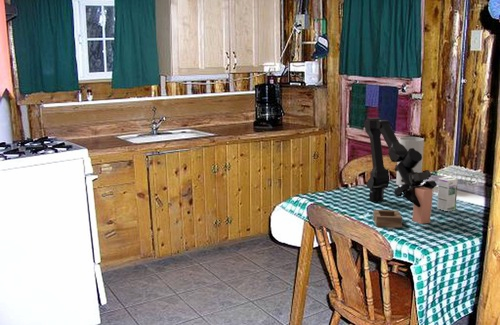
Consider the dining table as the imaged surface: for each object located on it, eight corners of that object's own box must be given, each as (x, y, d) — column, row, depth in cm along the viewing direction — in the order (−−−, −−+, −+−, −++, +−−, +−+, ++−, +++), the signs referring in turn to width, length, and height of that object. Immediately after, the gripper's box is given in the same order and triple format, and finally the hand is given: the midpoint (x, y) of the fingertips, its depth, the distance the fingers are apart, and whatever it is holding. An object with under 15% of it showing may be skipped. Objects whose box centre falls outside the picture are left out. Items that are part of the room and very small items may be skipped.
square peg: (412, 220, 217) (415, 188, 214) (421, 218, 219) (424, 186, 216) (420, 223, 212) (423, 191, 209) (430, 222, 214) (433, 189, 211)
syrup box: (446, 212, 228) (449, 180, 225) (436, 208, 233) (438, 177, 230) (455, 210, 231) (458, 178, 228) (445, 206, 236) (447, 175, 233)
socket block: (373, 218, 219) (373, 209, 218) (397, 219, 218) (397, 210, 217) (376, 226, 210) (376, 217, 209) (401, 227, 209) (402, 217, 208)
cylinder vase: (424, 184, 274) (427, 138, 269) (415, 189, 265) (418, 141, 259) (401, 181, 282) (404, 136, 277) (392, 186, 272) (394, 139, 267)
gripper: (400, 165, 210) (418, 198, 203) (435, 161, 218) (453, 193, 211) (386, 180, 219) (403, 212, 211) (420, 175, 227) (437, 206, 219)
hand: (424, 205), depth 213 cm, fingers closed on square peg, 5 cm apart
